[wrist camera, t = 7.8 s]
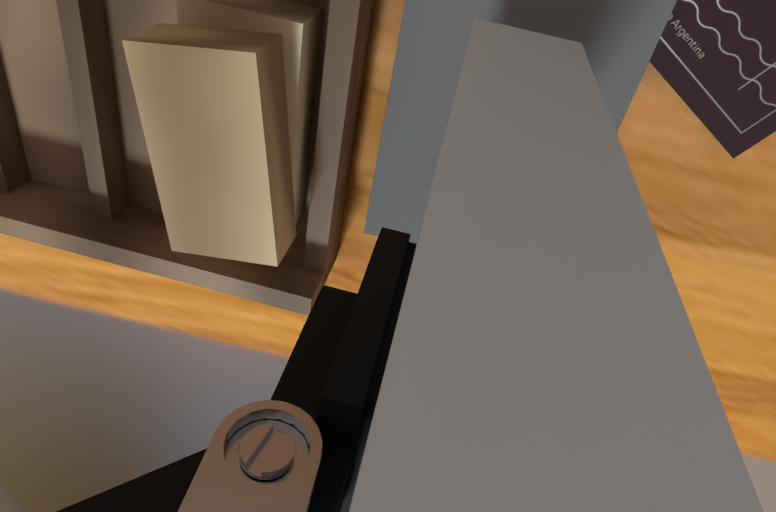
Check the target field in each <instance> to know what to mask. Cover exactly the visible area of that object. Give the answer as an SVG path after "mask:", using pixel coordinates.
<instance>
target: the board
mask: <svg viewBox="0 0 776 512" xmlns="http://www.w3.org/2000/svg"><path fill="white" fill-rule="evenodd" d="M349 512H763V510H762V507H761V504H760V502H759V499H758V497H757V494H756V492H755V489H754V486H753V484H752V481H751V479H750V476H749V474H748V471H747V468H746V466H745V463H744V461H743V458H742V455H741V453H740V450H739V448H738V445H737V442H736V440H735V437H734V435H733V432H732V430H731V427H730V424H729V422H728V419H727V417H726V414H725V412H724V409H723V406H722V404H721V401H720V399H719V396H718V393H717V391H716V388H715V386H714V383H713V381H712V378H711V375H710V373H709V370H708V368H707V365H706V362H705V360H704V357H703V355H702V352H701V350H700V347H699V344H698V342H697V339H696V337H695V334H694V331H693V329H692V326H691V324H690V321H689V319H688V316H687V313H686V311H685V308H684V306H683V303H682V301H681V298H680V295H679V293H678V290H677V288H676V285H675V282H674V280H673V277H672V275H671V272H670V270H669V267H668V264H667V262H666V259H665V257H664V254H663V251H662V249H661V246H660V244H659V241H658V239H657V236H656V233H655V231H654V228H653V226H652V223H651V220H650V218H649V215H648V213H647V210H646V208H645V205H644V202H643V200H642V197H641V195H640V192H639V190H638V187H637V184H636V182H635V179H634V177H633V174H632V171H631V169H630V166H629V164H628V161H627V159H626V156H625V153H624V151H623V148H622V146H621V143H620V140H619V138H618V135H617V133H616V130H615V128H614V125H613V122H612V120H611V117H610V115H609V112H608V109H607V107H606V104H605V102H604V99H603V97H602V94H601V91H600V89H599V86H598V84H597V81H596V79H595V76H594V73H593V71H592V68H591V66H590V63H589V60H588V58H587V55H586V53H585V50H584V48H583V45H582V43H580V42H576V41H571V40H567V39H563V38H558V37H554V36H550V35H546V34H541V33H537V32H533V31H529V30H524V29H520V28H516V27H511V26H507V25H503V24H499V23H494V22H490V21H486V20H481V19H477V18H474V22H473V26H472V30H471V34H470V37H469V41H468V45H467V49H466V53H465V57H464V61H463V65H462V69H461V73H460V77H459V81H458V84H457V88H456V92H455V96H454V100H453V104H452V108H451V112H450V116H449V120H448V124H447V127H446V131H445V135H444V139H443V143H442V147H441V151H440V155H439V159H438V163H437V167H436V171H435V174H434V178H433V182H432V186H431V190H430V194H429V198H428V202H427V206H426V210H425V214H424V218H423V221H422V225H421V229H420V233H419V237H418V241H417V246H416V249H415V253H414V257H413V261H412V265H411V269H410V273H409V277H408V281H407V285H406V289H405V293H404V297H403V301H402V305H401V309H400V312H399V316H398V320H397V324H396V328H395V332H394V336H393V340H392V344H391V348H390V352H389V356H388V360H387V364H386V368H385V371H384V375H383V379H382V383H381V387H380V391H379V395H378V399H377V403H376V407H375V411H374V415H373V419H372V423H371V426H370V430H369V434H368V438H367V442H366V446H365V450H364V454H363V458H362V462H361V466H360V469H359V473H358V477H357V481H356V485H355V489H354V493H353V497H352V501H351V505H350V508H349Z"/></svg>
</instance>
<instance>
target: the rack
mask: <svg viewBox="0 0 776 512" xmlns="http://www.w3.org/2000/svg"><path fill="white" fill-rule="evenodd" d="M287 1H291V2H295V3H300V4H304V5H308V6H312V7H317V8H321V9H323V13H322V23H321V34H320V44H319V55H318V65H317V76H316V86H315V97H314V107H313V118H312V128H311V139H310V149H309V160H308V170H307V181H306V191H305V202H304V212H303V214H302V215H301V217H300V218H299V220H298V222H297V223H296V233H297V235H296V237H295V239H294V240H293V242H292V244H291V245H290V247H289V249H288V250H287V252H286V254H285V255H284V257H283V259H282V260H281V262H280V264H279V265H278V267H277V266H270V265H263V264H257V263H250V262H243V261H236V260H230V259H223V258H216V257H210V256H203V255H196V254H190V253H183V252H176V251H172V250H171V246H170V241H169V237H168V233H167V229H166V225H165V220H164V216H163V212H162V208H161V204H160V199H159V195H158V191H157V187H156V182H155V178H154V174H153V170H152V166H151V161H150V157H149V153H148V149H147V144H146V140H145V136H144V132H143V128H142V123H141V119H140V115H139V111H138V107H137V102H136V98H135V94H134V90H133V85H132V81H131V77H130V73H129V69H128V64H127V60H126V56H125V52H124V47H123V43H122V40H123V39H126V38H128V37H130V36H132V35H134V34H137V33H139V32H141V31H143V30H146V29H148V28H150V27H152V26H154V25H157V24H159V23H163V24H175V25H178V21H177V3H176V0H0V233H2V234H6V235H9V236H13V237H17V238H21V239H24V240H28V241H32V242H36V243H39V244H43V245H47V246H50V247H54V248H58V249H62V250H65V251H69V252H73V253H77V254H80V255H84V256H88V257H92V258H95V259H99V260H103V261H106V262H110V263H114V264H118V265H121V266H125V267H129V268H133V269H136V270H140V271H144V272H148V273H151V274H155V275H159V276H162V277H166V278H170V279H174V280H177V281H181V282H185V283H189V284H192V285H196V286H200V287H204V288H207V289H211V290H215V291H219V292H222V293H226V294H230V295H233V296H237V297H241V298H245V299H248V300H252V301H256V302H260V303H263V304H267V305H271V306H275V307H278V308H282V309H286V310H289V311H293V312H297V313H301V314H304V315H308V316H309V314H310V312H311V309H312V307H313V305H314V303H315V301H316V298H317V296H318V294H319V292H320V290H321V288H322V287H323V286H324V284H325V282H326V280H327V278H328V275H329V273H330V271H331V269H332V267H333V265H334V262H335V260H336V257H337V250H338V243H339V236H340V229H341V223H342V216H343V209H344V202H345V195H346V189H347V182H348V175H349V168H350V161H351V155H352V148H353V141H354V134H355V127H356V120H357V114H358V107H359V100H360V93H361V86H362V80H363V73H364V66H365V59H366V52H367V45H368V39H369V32H370V25H371V18H372V11H373V5H374V0H287Z"/></svg>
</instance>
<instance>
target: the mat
mask: <svg viewBox="0 0 776 512" xmlns="http://www.w3.org/2000/svg"><path fill="white" fill-rule="evenodd" d="M676 1H677V0H406V1H405V6H404V12H403V17H402V23H401V29H400V34H399V40H398V45H397V51H396V57H395V62H394V68H393V73H392V79H391V85H390V90H389V96H388V101H387V107H386V112H385V118H384V124H383V129H382V135H381V140H380V146H379V152H378V157H377V163H376V168H375V174H374V180H373V185H372V191H371V196H370V202H369V208H368V213H367V219H366V224H365V230H364V233H367V234H371V235H375V236H379V234H380V231H381V228H382V227H384V228H388V229H392V230H396V231H400V232H404V233H408V234H411V235H410V240H409V242H412V243H416V244H417V241H418V237H419V233H420V229H421V225H422V221H423V218H424V214H425V210H426V206H427V202H428V198H429V194H430V190H431V186H432V182H433V178H434V174H435V171H436V167H437V163H438V159H439V155H440V151H441V147H442V143H443V139H444V135H445V131H446V127H447V124H448V120H449V116H450V112H451V108H452V104H453V100H454V96H455V92H456V88H457V84H458V81H459V77H460V73H461V69H462V65H463V61H464V57H465V53H466V49H467V45H468V41H469V37H470V34H471V30H472V26H473V22H474V18H477V19H481V20H486V21H490V22H494V23H499V24H503V25H507V26H511V27H516V28H520V29H524V30H529V31H533V32H537V33H541V34H546V35H550V36H554V37H558V38H563V39H567V40H571V41H576V42H580V43H582V45H583V48H584V50H585V53H586V55H587V58H588V60H589V63H590V66H591V68H592V71H593V73H594V76H595V79H596V81H597V84H598V86H599V89H600V91H601V94H602V97H603V99H604V102H605V104H606V107H607V109H608V112H609V115H610V117H611V120H612V122H613V125H614V128H615V130H616V133H617V131H618V129H619V127H620V125H621V122H622V120H623V118H624V116H625V114H626V111H627V109H628V107H629V105H630V103H631V100H632V98H633V96H634V94H635V92H636V89H637V87H638V85H639V83H640V81H641V78H642V76H643V74H644V72H645V70H646V67H647V65H648V63H649V61H650V59H651V56H652V54H653V52H654V50H655V48H656V45H657V43H658V41H659V39H660V37H661V34H662V32H663V30H664V28H665V26H666V23H667V21H668V19H669V17H670V15H671V12H672V10H673V8H674V6H675V4H676Z"/></svg>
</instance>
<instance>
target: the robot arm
mask: <svg viewBox="0 0 776 512" xmlns="http://www.w3.org/2000/svg"><path fill="white" fill-rule="evenodd" d="M410 235H411V234H408V233H404V232H400V231H396V230H392V229H388V228H384V227H382V228H381V231H380V234H379V236H378V239H377V242H376V245H375V247H374V250H373V253H372V256H371V259H370V261H369V264H368V267H367V270H366V272H365V275H364V278H363V281H362V284H361V286H360V289H359V292H358V294H356V293H352V292H348V291H345V290H341V289H337V288H333V287H329V286H325V285H324V286H323V287H322V288H321V290H320V292H319V294H318V296H317V298H316V301H315V303H314V305H313V307H312V309H311V312H310V314H309V316H308V318H307V321H306V323H305V325H304V327H303V329H302V332H301V334H300V336H299V338H298V340H297V343H296V345H295V347H294V349H293V352H292V354H291V356H290V358H289V360H288V363H287V365H286V368H285V369H284V372H283V374H282V376H281V378H280V380H279V383H278V385H277V387H276V389H275V391H274V394H273V396H272V398H271V400H264V401H257V402H251V403H249V404H247V405H245V406H242V407H240V408H238V409H236V410H235V411H233V412H232V413H231V414H230V415H228V416H227V417H226V418H225V419H224V420H223V421H222V423H221V424H220V425H219V427H218V428H217V430H216V431H215V433H214V435H213V437H212V440H211V442H210V444H209V446H208V448H207V449H205V450H202V451H200V452H197V453H195V454H193V455H190V456H188V457H185V458H183V459H181V460H178V461H176V462H174V463H171V464H169V465H166V466H164V467H162V468H159V469H157V470H155V471H152V472H150V473H147V474H145V475H143V476H140V477H138V478H136V479H133V480H131V481H128V482H126V483H124V484H121V485H119V486H116V487H114V488H112V489H110V490H107V491H105V492H102V493H100V494H97V495H95V496H93V497H90V498H88V499H86V500H83V501H81V502H78V503H76V504H74V505H71V506H69V507H66V508H64V509H62V510H59V511H57V512H349V508H350V505H351V501H352V497H353V493H354V489H355V485H356V481H357V477H358V473H359V469H360V466H361V462H362V458H363V454H364V450H365V446H366V442H367V438H368V434H369V430H370V426H371V423H372V419H373V415H374V411H375V407H376V403H377V399H378V395H379V391H380V387H381V383H382V379H383V375H384V371H385V368H386V364H387V360H388V356H389V352H390V348H391V344H392V340H393V336H394V332H395V328H396V324H397V320H398V316H399V312H400V309H401V305H402V301H403V297H404V293H405V289H406V285H407V281H408V277H409V273H410V269H411V265H412V261H413V257H414V253H415V249H416V246H417V244H416V243H412V242H409V240H410Z"/></svg>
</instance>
